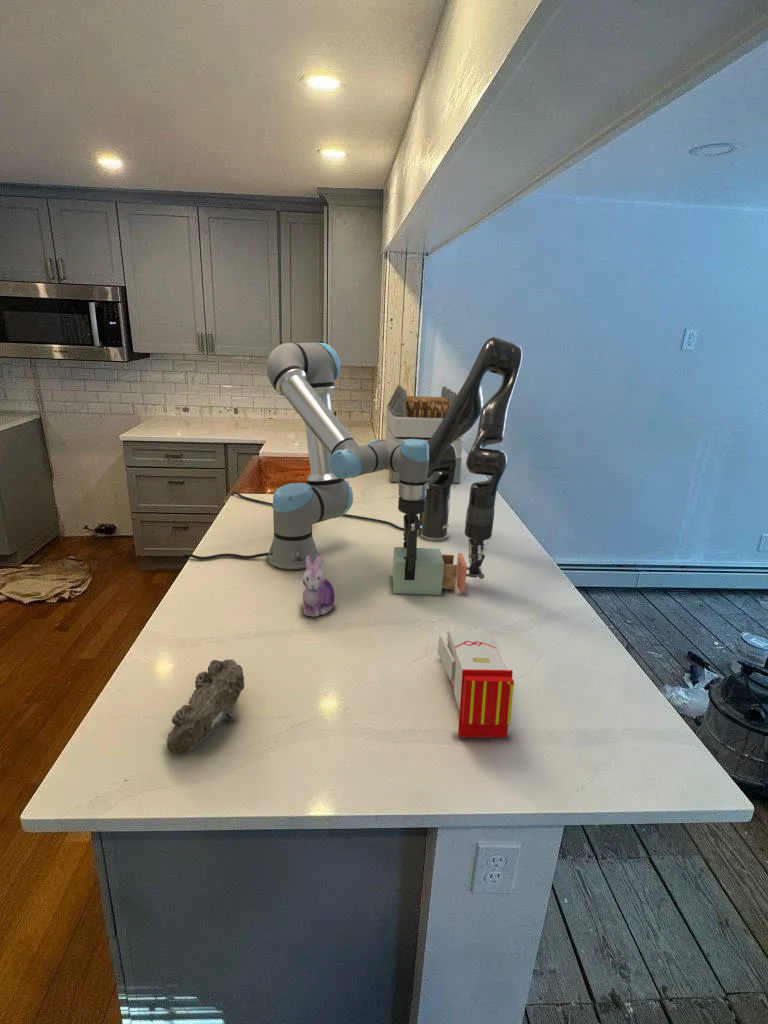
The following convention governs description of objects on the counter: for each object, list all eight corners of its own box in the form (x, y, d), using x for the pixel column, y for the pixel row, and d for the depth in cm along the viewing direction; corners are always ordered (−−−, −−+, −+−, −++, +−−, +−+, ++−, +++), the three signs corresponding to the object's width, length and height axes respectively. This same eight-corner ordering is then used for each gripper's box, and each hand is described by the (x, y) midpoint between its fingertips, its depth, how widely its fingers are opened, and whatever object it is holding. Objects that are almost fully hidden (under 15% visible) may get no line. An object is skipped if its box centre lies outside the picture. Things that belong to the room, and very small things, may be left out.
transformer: (382, 463, 289) (386, 382, 275) (445, 464, 293) (451, 384, 279) (390, 482, 257) (394, 392, 243) (460, 483, 261) (468, 394, 247)
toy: (488, 613, 130) (523, 677, 101) (484, 667, 133) (517, 744, 104) (435, 612, 130) (455, 676, 101) (432, 666, 133) (451, 743, 103)
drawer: (478, 577, 167) (481, 553, 165) (484, 592, 159) (487, 567, 156) (418, 575, 167) (420, 551, 164) (421, 590, 158) (422, 565, 156)
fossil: (192, 660, 117) (244, 628, 112) (224, 691, 120) (276, 661, 115) (142, 746, 98) (202, 712, 93) (182, 779, 101) (242, 748, 96)
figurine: (307, 621, 142) (307, 567, 137) (294, 603, 150) (293, 551, 145) (342, 614, 146) (343, 561, 141) (327, 596, 154) (328, 545, 149)
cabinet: (437, 578, 168) (440, 548, 165) (441, 594, 158) (444, 563, 155) (392, 577, 168) (394, 547, 164) (393, 593, 158) (395, 561, 155)
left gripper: (430, 511, 143) (424, 590, 151) (422, 485, 165) (418, 554, 172) (400, 510, 143) (396, 589, 150) (397, 484, 164) (393, 554, 172)
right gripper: (498, 529, 150) (490, 587, 156) (488, 512, 163) (481, 566, 169) (469, 528, 150) (463, 586, 156) (462, 511, 162) (456, 565, 168)
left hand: (408, 570), depth 161 cm, fingers closed on cabinet, 10 cm apart
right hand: (472, 576), depth 162 cm, fingers closed
